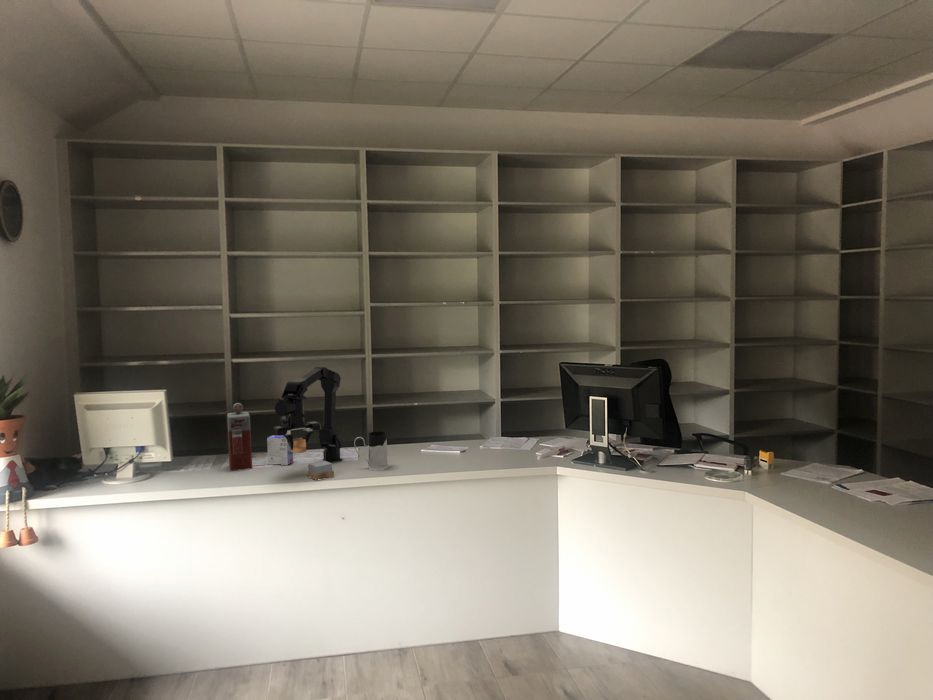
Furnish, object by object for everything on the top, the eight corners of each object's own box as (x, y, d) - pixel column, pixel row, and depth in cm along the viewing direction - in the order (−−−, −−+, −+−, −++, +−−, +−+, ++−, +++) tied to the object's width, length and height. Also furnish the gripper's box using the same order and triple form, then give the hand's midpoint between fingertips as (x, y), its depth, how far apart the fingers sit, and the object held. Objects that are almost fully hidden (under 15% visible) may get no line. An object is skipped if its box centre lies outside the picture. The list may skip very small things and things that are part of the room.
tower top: (323, 467, 279) (323, 460, 279) (332, 470, 274) (332, 463, 274) (308, 470, 275) (308, 463, 274) (316, 474, 269) (316, 466, 269)
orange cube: (301, 449, 280) (300, 437, 280) (306, 451, 276) (305, 439, 276) (289, 451, 277) (289, 439, 277) (294, 453, 273) (294, 441, 273)
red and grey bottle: (230, 471, 284) (227, 406, 281) (229, 465, 294) (226, 402, 291) (252, 469, 287) (249, 404, 284) (250, 463, 297) (247, 400, 295)
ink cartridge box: (294, 462, 298) (292, 430, 297) (288, 465, 293) (287, 433, 291) (273, 461, 300) (272, 429, 299) (267, 464, 295) (266, 432, 293)
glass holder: (389, 469, 284) (388, 435, 282) (354, 471, 281) (353, 436, 280) (387, 464, 292) (387, 430, 291) (354, 466, 290) (353, 432, 288)
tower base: (325, 474, 280) (325, 467, 280) (334, 478, 274) (333, 470, 274) (307, 477, 275) (307, 470, 275) (316, 481, 269) (315, 474, 269)
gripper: (309, 406, 287) (311, 442, 289) (267, 411, 276) (268, 448, 278) (320, 409, 278) (322, 446, 280) (277, 415, 267) (278, 453, 269)
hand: (297, 448), depth 277 cm, fingers closed on orange cube, 5 cm apart
